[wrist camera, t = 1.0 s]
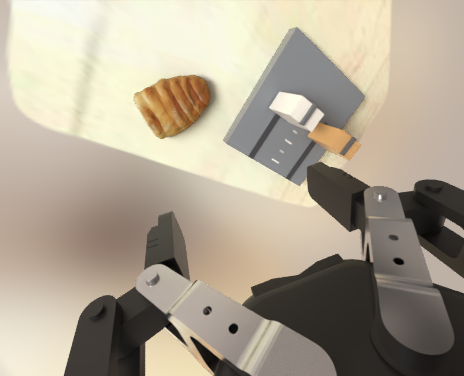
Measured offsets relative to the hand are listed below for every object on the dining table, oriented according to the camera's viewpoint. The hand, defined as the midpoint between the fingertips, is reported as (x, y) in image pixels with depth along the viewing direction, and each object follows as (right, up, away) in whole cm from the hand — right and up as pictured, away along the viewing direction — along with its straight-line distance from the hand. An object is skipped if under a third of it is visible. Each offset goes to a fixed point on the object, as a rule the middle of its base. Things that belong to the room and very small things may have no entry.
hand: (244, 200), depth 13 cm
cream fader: (+7, +12, +20) cm, 24 cm away
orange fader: (+13, +9, +23) cm, 28 cm away
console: (+9, +12, +23) cm, 28 cm away
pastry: (-9, +12, +18) cm, 24 cm away
